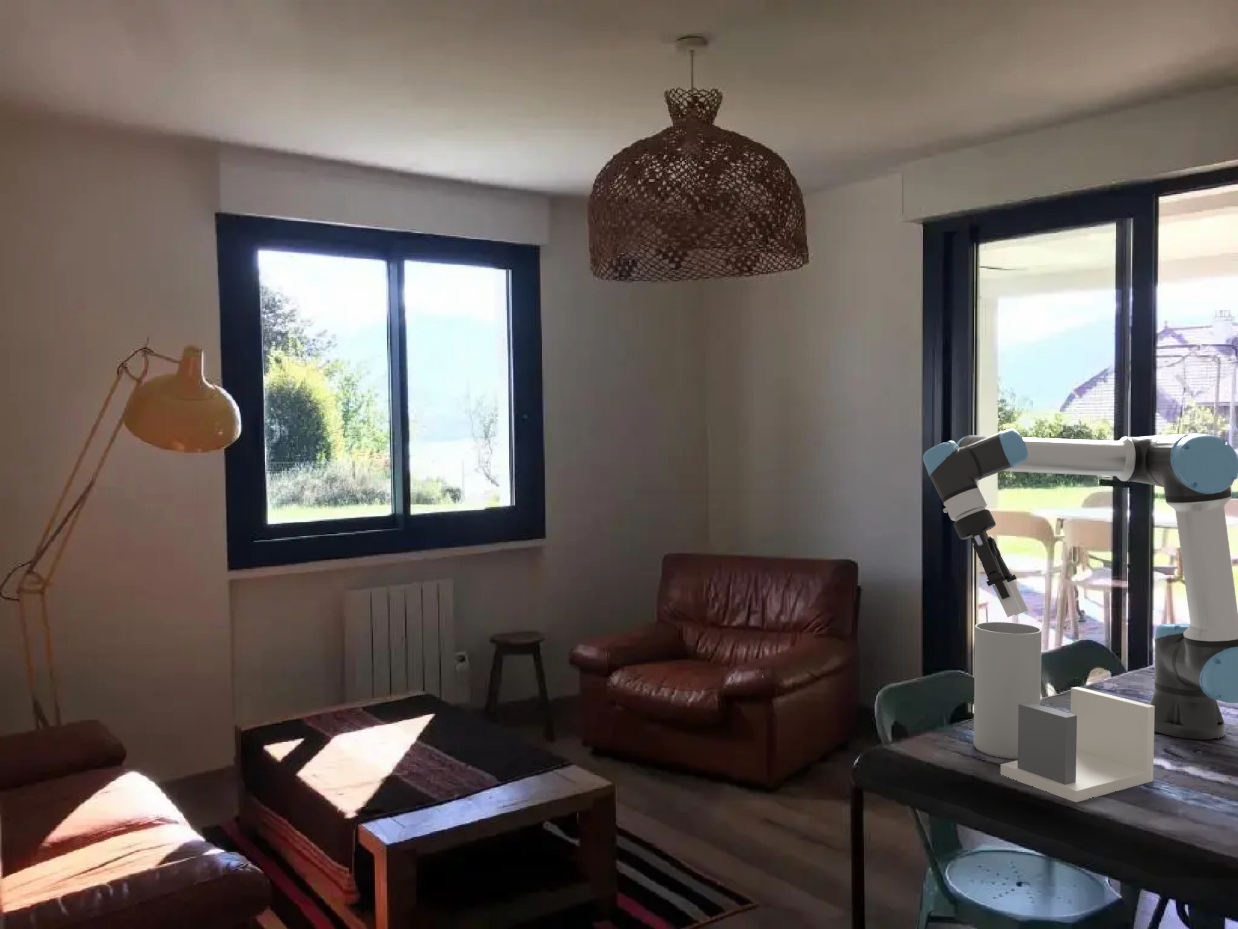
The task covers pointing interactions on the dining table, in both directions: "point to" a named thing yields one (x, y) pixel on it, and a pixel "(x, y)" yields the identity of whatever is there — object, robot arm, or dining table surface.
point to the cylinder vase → (1004, 683)
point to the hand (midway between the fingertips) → (1018, 614)
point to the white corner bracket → (1084, 746)
